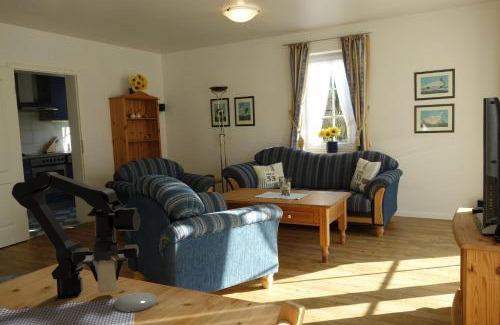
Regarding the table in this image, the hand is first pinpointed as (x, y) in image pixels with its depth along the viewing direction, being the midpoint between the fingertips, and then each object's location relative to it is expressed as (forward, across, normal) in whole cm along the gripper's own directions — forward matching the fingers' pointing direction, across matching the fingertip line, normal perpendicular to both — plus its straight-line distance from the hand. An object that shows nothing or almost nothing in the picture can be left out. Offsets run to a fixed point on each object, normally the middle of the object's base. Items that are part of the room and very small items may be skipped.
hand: (107, 280), depth 124 cm
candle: (+3, 0, 0) cm, 3 cm away
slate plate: (+5, +9, -8) cm, 13 cm away
